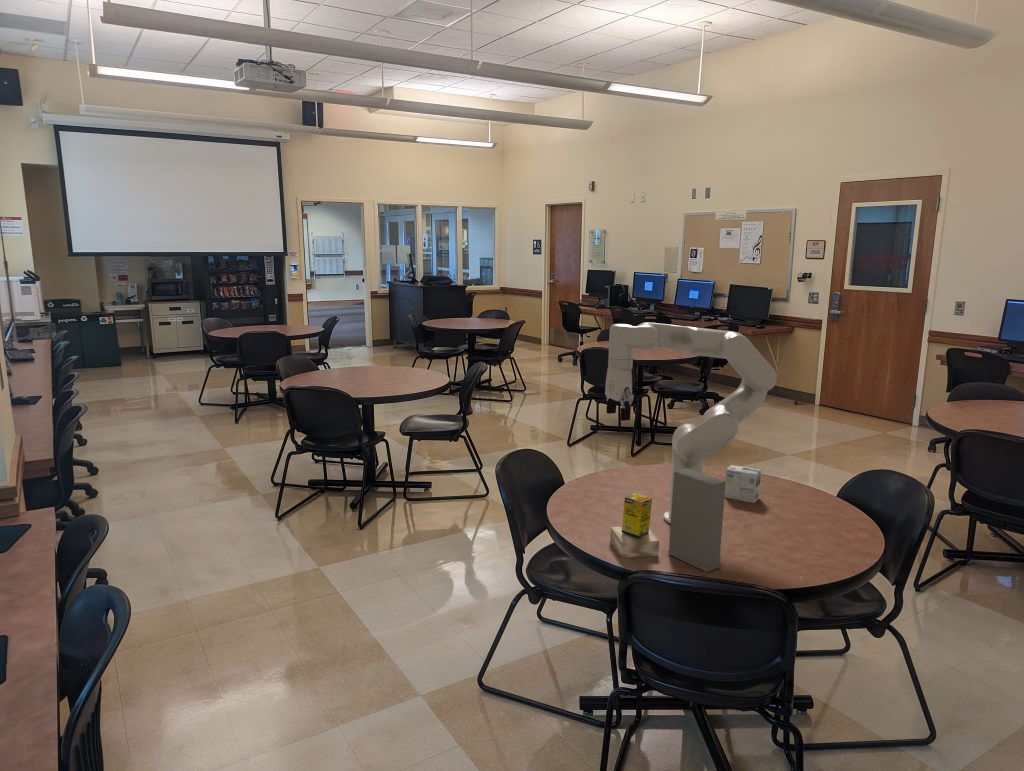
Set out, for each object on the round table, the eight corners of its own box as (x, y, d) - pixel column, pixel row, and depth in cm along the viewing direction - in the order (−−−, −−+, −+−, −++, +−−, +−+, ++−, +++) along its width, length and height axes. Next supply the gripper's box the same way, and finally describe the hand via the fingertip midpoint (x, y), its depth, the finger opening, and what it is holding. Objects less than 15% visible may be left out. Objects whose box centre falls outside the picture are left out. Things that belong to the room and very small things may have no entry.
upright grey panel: (721, 567, 190) (728, 480, 185) (706, 573, 187) (713, 485, 182) (682, 549, 201) (687, 467, 196) (668, 554, 198) (673, 471, 193)
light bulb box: (759, 498, 244) (762, 469, 242) (754, 504, 238) (757, 474, 236) (728, 492, 250) (731, 463, 248) (723, 497, 244) (725, 468, 242)
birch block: (645, 541, 208) (646, 525, 207) (658, 557, 197) (659, 540, 196) (610, 542, 206) (610, 527, 205) (620, 558, 196) (621, 542, 195)
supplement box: (639, 538, 197) (642, 502, 195) (620, 532, 200) (624, 496, 199) (649, 533, 201) (652, 497, 199) (631, 527, 205) (634, 492, 203)
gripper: (597, 359, 223) (595, 411, 227) (622, 368, 207) (619, 424, 211) (618, 358, 226) (616, 410, 229) (644, 367, 210) (641, 422, 213)
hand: (618, 416), depth 220 cm, fingers open, 9 cm apart
